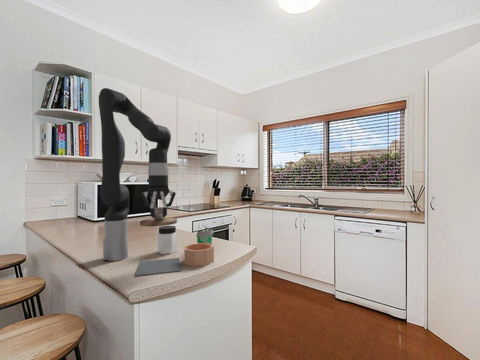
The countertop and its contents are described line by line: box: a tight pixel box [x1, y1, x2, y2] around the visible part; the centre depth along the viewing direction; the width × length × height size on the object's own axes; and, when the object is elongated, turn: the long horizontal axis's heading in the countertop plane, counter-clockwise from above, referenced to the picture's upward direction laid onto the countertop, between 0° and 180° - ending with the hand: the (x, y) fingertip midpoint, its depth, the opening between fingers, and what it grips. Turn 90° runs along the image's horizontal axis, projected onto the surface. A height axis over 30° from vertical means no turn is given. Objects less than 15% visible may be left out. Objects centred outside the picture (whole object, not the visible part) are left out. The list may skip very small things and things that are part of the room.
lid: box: [139, 206, 178, 227], centre depth 96 cm, size 14×14×6 cm
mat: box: [134, 257, 182, 277], centre depth 96 cm, size 16×16×1 cm
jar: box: [157, 225, 178, 255], centre depth 117 cm, size 9×8×12 cm
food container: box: [196, 227, 214, 245], centre depth 120 cm, size 12×6×10 cm, turn 168°
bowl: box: [183, 243, 215, 267], centre depth 103 cm, size 12×12×6 cm
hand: (158, 217), depth 96 cm, fingers closed on lid, 3 cm apart
